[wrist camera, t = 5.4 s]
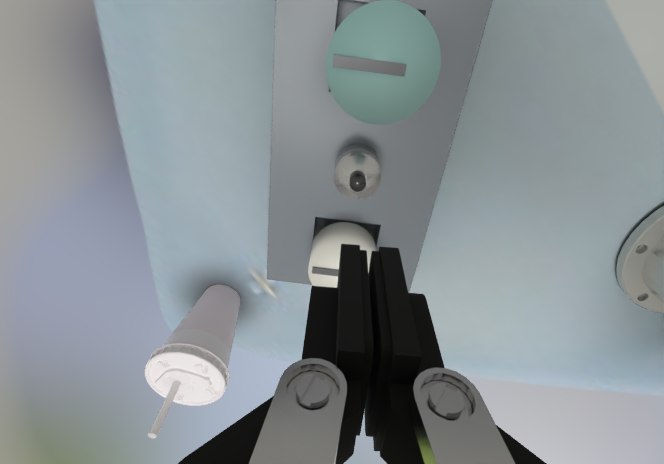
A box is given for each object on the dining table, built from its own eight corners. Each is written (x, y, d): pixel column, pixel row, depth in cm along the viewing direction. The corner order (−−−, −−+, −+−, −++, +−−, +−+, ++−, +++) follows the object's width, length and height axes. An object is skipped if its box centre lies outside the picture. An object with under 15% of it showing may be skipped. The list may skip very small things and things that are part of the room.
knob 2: (430, 10, 20) (455, 8, 15) (409, 106, 22) (425, 131, 17) (337, -3, 20) (332, -9, 15) (327, 95, 22) (320, 118, 17)
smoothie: (182, 274, 36) (96, 406, 24) (247, 272, 35) (193, 406, 23) (199, 323, 39) (131, 461, 27) (259, 321, 38) (217, 462, 26)
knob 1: (379, 211, 30) (384, 249, 25) (368, 262, 32) (371, 304, 28) (317, 204, 30) (310, 240, 25) (312, 255, 32) (305, 297, 28)
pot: (382, 145, 25) (386, 164, 22) (374, 186, 26) (377, 208, 23) (338, 140, 25) (336, 157, 22) (333, 181, 26) (330, 202, 23)
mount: (477, -10, 23) (496, -13, 20) (403, 271, 34) (407, 296, 31) (287, -36, 23) (277, -43, 20) (274, 255, 34) (266, 279, 31)
